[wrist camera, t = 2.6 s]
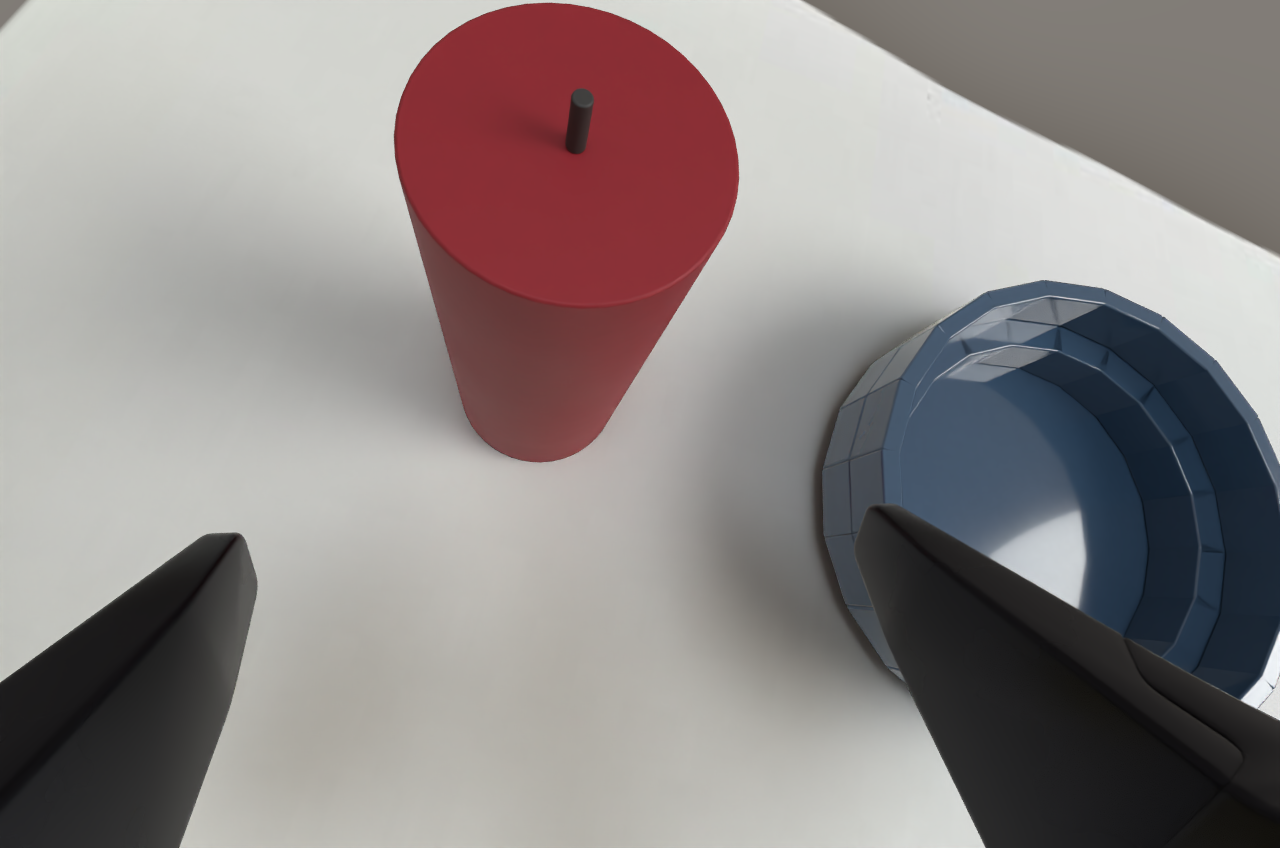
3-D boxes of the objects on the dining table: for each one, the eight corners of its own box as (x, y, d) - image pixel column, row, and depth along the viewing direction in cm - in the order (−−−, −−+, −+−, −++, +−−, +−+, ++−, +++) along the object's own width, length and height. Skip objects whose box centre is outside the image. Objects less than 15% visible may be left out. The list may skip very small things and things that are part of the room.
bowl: (1227, 574, 25) (1378, 574, 20) (978, 825, 21) (1100, 889, 17) (1007, 272, 26) (1105, 212, 22) (733, 453, 22) (786, 424, 18)
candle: (642, 412, 22) (833, 174, 9) (512, 492, 20) (516, 345, 7) (563, 291, 22) (636, -103, 9) (431, 360, 21) (301, 8, 8)
